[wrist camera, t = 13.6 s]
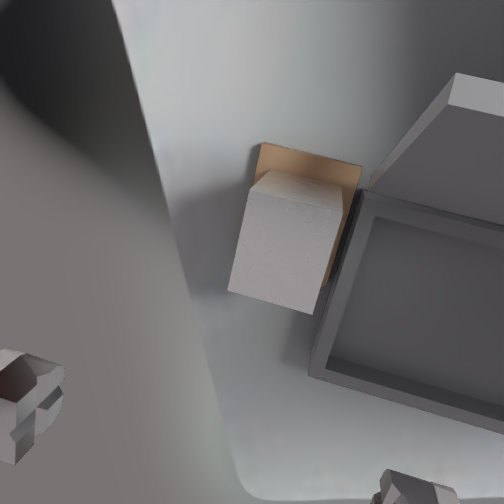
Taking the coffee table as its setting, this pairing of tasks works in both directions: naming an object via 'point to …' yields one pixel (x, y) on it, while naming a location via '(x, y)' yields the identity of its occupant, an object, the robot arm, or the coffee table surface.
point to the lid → (452, 153)
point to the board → (316, 170)
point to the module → (286, 240)
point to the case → (418, 311)
